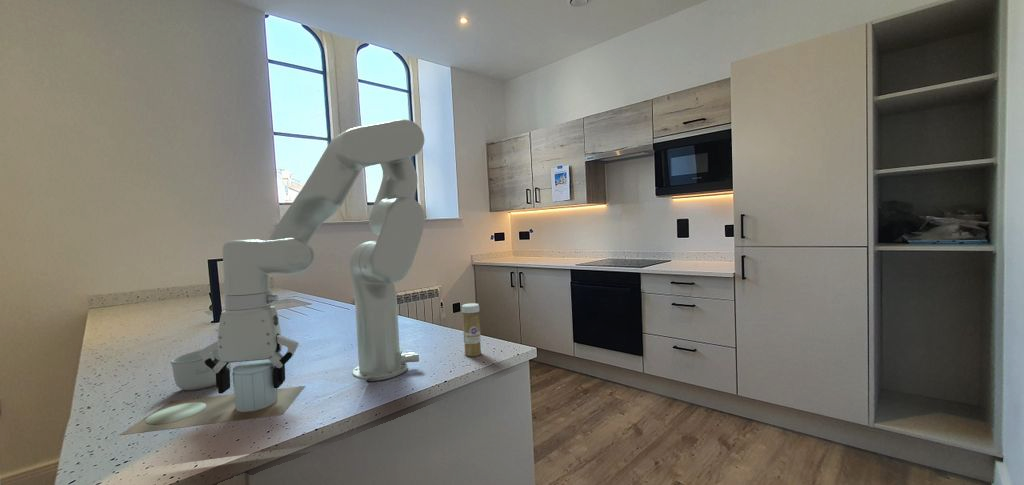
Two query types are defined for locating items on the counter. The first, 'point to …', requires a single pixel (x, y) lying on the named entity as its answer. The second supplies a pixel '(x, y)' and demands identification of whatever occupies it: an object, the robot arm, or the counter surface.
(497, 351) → the counter surface
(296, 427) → the counter surface
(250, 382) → the blue cup
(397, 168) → the robot arm
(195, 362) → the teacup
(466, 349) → the sprinkles bottle
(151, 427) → the brown board
